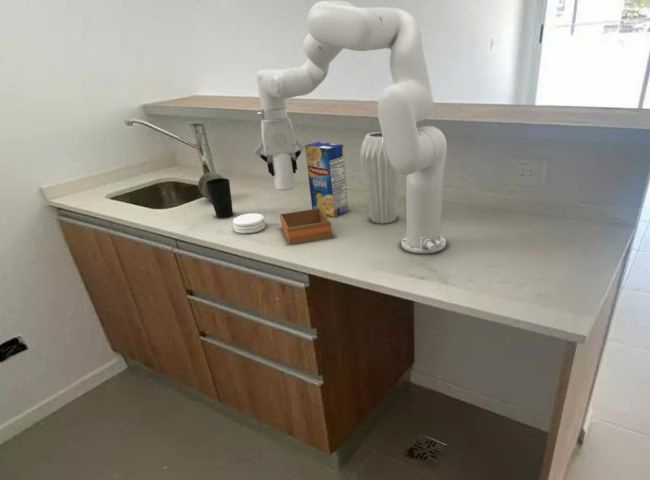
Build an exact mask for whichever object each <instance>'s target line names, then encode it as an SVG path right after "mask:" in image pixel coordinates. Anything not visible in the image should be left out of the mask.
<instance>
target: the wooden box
mask: <svg viewBox="0 0 650 480" xmlns="http://www.w3.org/2000/svg"><path fill="white" fill-rule="evenodd" d="M279 221H280V225H281V229H282V232H283V234H284V236H285V238H286V241H287V242H288V244H289V245H295V244H302V243H308V242H314V241H320V240H327V239H331V238H333V233H332V232H333V231H332V222H331V221H330V219H329V218H328V215H326V214H324V213H323V211H322V210H321V209H320V208H316V209H312V208H311V209H304V210H297V211H290V212H284V213H279Z"/></svg>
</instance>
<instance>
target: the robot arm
mask: <svg viewBox="0 0 650 480" xmlns="http://www.w3.org/2000/svg"><path fill="white" fill-rule="evenodd" d="M306 24H307V30H308V34H307V35H306V36H305V37H304V39H303V44H302V46H303V47H302V48H303V51H304V54H305V56H306V57H307V58H308V59H306V61H304V63H303V64H302V65H301V66H297V67H288V68H282V69H276V68H270V69H261V70H258V71H257V73H256V75H255V76H256V85H257V89H258V96H259V101H260V108H261V109H260V111H258V112H256V114H257V118H261V119H262V120H261V122H260V132H261V133H260V134H261V142H260V144H259V145H258V146H257V148H256V149H255V150H254V153H255V155H256V156H258V157H259V159H260V158H261V160H262V161H264V162H265V163H266V165H267V171H268V174H270V175H271V177H274V170H273V164H272V162H271V159H272V155H277V154H281V153H285V154H286V153H290V154H291V159H292V166H293V174H296V173H297V171H298V165H297V160H298V158H299V157H300V156H301V154H302V153H303V151H304V150H305V145H303V144H302V143H301V142H300V141H298V139H296V136H295V135H296V134H295V130H294V126H293V123H292V120H291V118H290V117H288V111H287V110H288V109H287V102H286V101H287V99H291V98H295V97H301V96H307V95H309V94H310V93H312V92H313V91H315V90H316V89H317V88H319V86H320V85H321V84H322V83H323V82H324V80H325V79H326V77H327V76H328V72H329V68H330V63H332V61H333V60H334V59H336V57H337V56H338V55H339V54H340V53H341V52H342V51H343V50H344V49H346V50H349V51H350V50H351V51H356V52H366V51H377V50H382V49H383V50H384V49H389V50H390V55H389V69H390V74H391V78H392V83H391V84H390V85H388V86H387V87H385V88H384V89H383V90H382V91H381V93H380V95H379V97H378V101H377V108H376V109H377V117H378V122H379V126H380V132H382V136H383V140H384V144H385V148H386V152H387V156H388V159H389V161H390V164H391V165H392V167H393V168H394V169H395V170H396V171H397V172H398V173H400V174H401V175H404V176H405V175H407V176H406V183H405V185H406V186H405V187H406V189H405V191H406V193H405V194H406V197H405V199H406V200H405V203H406V236H404V237H403V238H402V239H401V242H400V243H401V248H402V249H403V250H405V251H407V252H409V253H412V254H421V255H422V254H423V255H424V254H435V253H438V252H440V251H442V250H444V249H445V248H446V247H447V241H446V238H444V236H441V235H442V207H443V203H442V202H443V182H444V171H445V164H446V159H447V152H448V144H447V139H446V136H445V134H444V133H443V131H442V130H440V129H439V128H437V127H435V126H433V125H432V126H431V125H426V126H421V127H418V126H417V123H420V122H422V121H424V120H426V119H428V118H429V117H430V116H431V114H432V112H433V110H434V97H433V92H432V87H431V82H430V76H429V72H428V67H427V63H426V58H425V52H424V46H423V39H422V33H421V29H420V26H419V24H418V21H417V20H416V18H415V17H414V16H413V15H412V14H411V13H409V12H408V11H407V10H403V9H402V8H398V7H397V8H396V7H387V6H377V7H358V6H355V5H354V4H352V3H350V2H348V1H346V0H345V1H344V0H321V1H320V0H319V1H318V2H316V3H315V4H314V5H312V7H311V8H310V10H309V12H308V15H307V21H306ZM297 147H298V148H297ZM262 151H264V153H265V154H263V153H262Z"/></svg>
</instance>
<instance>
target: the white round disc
mask: <svg viewBox="0 0 650 480" xmlns="http://www.w3.org/2000/svg"><path fill="white" fill-rule="evenodd" d="M232 224H233V230H234V232H236V233H238V234H245V235H246V234H247V235H248V234H255V233H259V232H261V231H263V230H265V228H266V226H267V225H266V220H265V216H264V215H263V214H260V213H254V212H253V213H243V214H240V215H237V216H235V217H234V218H233V219H232Z"/></svg>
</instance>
